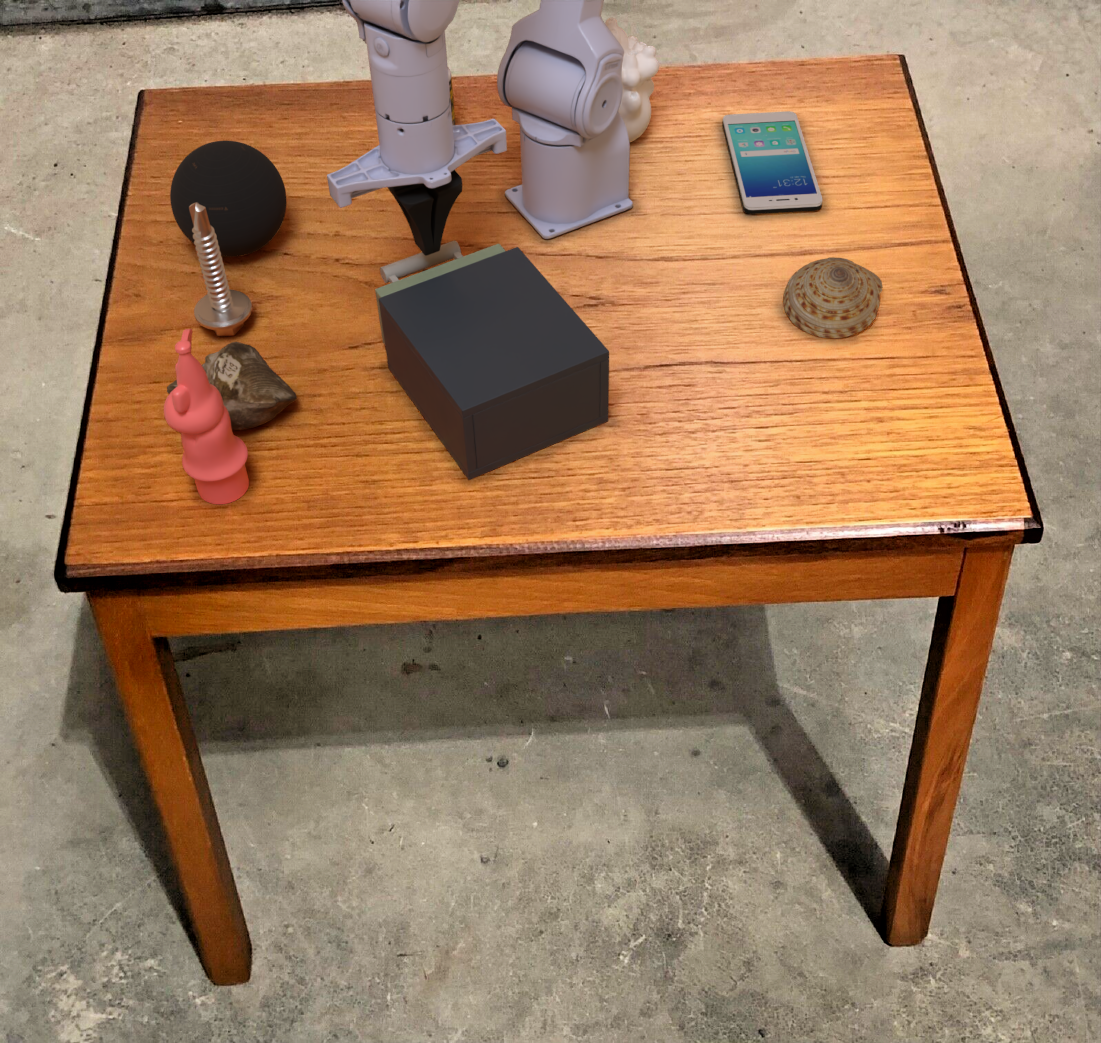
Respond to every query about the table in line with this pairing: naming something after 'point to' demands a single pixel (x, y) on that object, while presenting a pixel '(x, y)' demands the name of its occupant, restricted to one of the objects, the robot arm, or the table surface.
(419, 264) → the drawer
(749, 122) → the smartphone
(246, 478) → the figurine
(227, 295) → the screw
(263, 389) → the fossilized seashell
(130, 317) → the table surface
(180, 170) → the speaker
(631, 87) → the figurine
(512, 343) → the cabinet
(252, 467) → the table surface
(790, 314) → the seashell
